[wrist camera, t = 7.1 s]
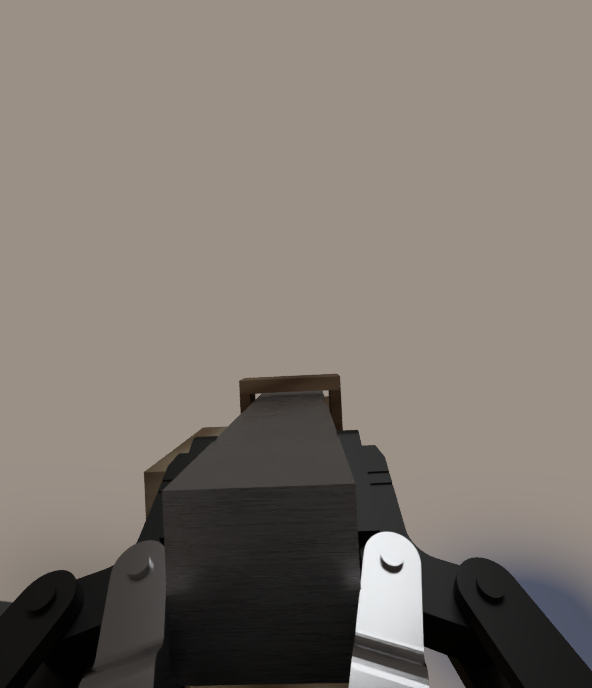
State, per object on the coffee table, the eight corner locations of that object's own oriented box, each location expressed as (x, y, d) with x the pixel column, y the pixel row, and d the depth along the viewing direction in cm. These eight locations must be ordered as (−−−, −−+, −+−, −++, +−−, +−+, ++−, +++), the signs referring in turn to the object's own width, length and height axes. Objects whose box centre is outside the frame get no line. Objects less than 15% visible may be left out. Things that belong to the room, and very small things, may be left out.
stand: (167, 1021, 21) (140, 385, 21) (218, 774, 33) (200, 372, 33) (373, 1023, 20) (339, 376, 21) (348, 772, 32) (327, 366, 33)
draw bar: (170, 686, 7) (162, 490, 7) (272, 434, 29) (270, 385, 29) (365, 682, 7) (355, 483, 7) (321, 432, 29) (319, 382, 29)
